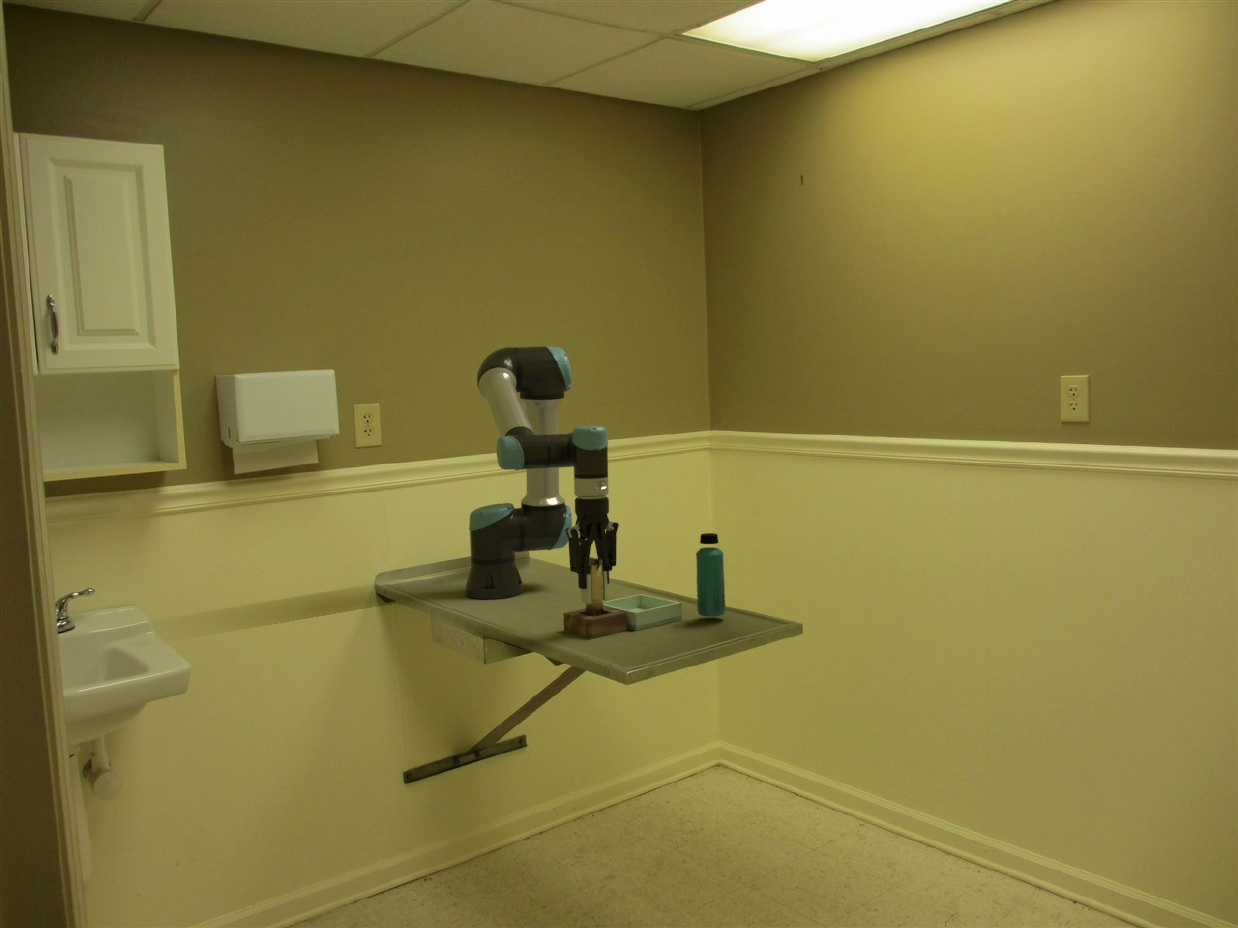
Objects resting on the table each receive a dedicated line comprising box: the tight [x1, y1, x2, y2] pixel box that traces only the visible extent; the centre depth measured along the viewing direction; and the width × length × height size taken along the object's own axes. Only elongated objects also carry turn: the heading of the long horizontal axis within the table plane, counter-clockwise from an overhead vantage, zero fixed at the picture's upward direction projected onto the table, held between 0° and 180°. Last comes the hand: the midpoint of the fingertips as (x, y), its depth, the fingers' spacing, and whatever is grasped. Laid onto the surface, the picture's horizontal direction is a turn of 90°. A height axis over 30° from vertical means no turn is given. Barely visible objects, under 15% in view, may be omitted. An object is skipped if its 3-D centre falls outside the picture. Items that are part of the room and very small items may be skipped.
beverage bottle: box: [695, 532, 727, 618], centre depth 228 cm, size 6×7×20 cm
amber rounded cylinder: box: [585, 556, 605, 617], centre depth 221 cm, size 5×4×15 cm
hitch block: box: [563, 607, 628, 639], centre depth 222 cm, size 10×10×4 cm
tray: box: [603, 593, 683, 632], centre depth 230 cm, size 14×14×4 cm
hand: (594, 600), depth 221 cm, fingers closed on amber rounded cylinder, 4 cm apart
